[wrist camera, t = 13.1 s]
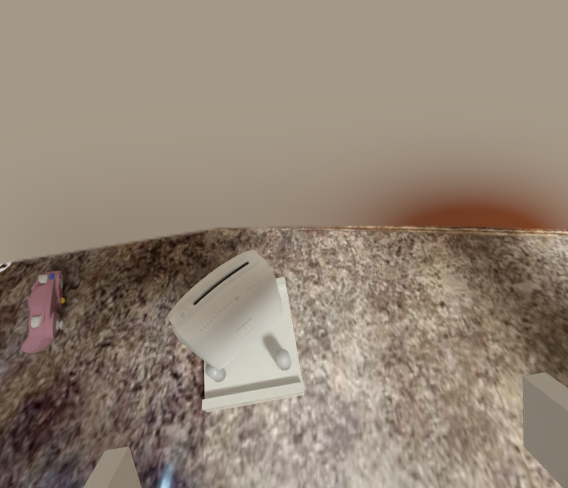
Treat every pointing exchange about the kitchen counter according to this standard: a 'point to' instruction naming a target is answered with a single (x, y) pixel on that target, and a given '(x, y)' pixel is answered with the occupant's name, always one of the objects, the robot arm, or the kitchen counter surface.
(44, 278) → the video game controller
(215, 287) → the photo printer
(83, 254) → the kitchen counter surface
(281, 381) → the white pegged stand
